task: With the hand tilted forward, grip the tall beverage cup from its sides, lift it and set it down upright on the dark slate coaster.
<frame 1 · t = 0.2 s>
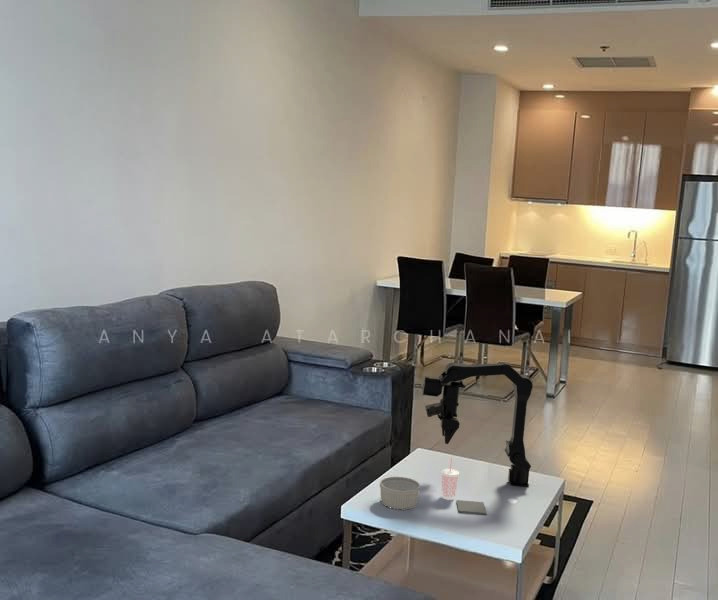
hand: (445, 439, 266), 14 cm above the table, tool pointing down, fingers open, 9 cm apart
ramekin: (398, 504, 242), on the table
beverage cup: (448, 497, 250), on the table
coaster: (471, 508, 242), on the table
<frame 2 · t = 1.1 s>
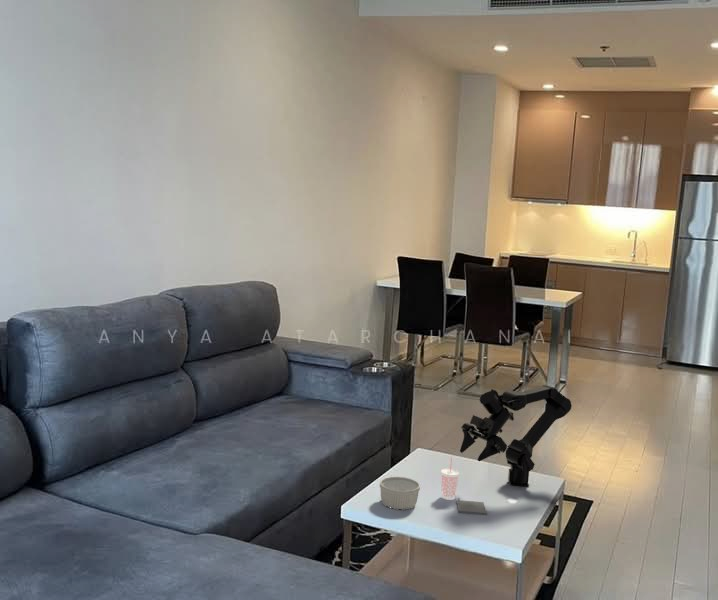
hand: (469, 456, 253), 13 cm above the table, tool tilted 45°, fingers open, 9 cm apart
nothing on the table moved.
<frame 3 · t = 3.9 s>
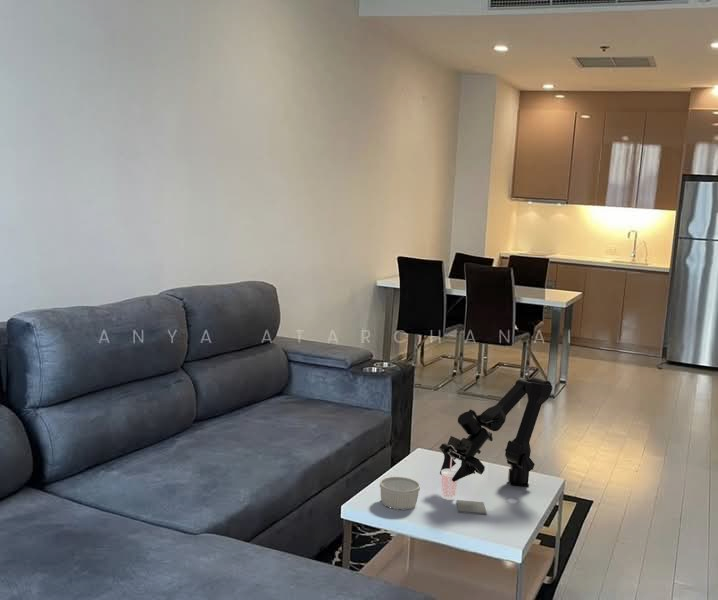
hand: (446, 477, 249), 7 cm above the table, tool tilted 45°, fingers closed on beverage cup, 6 cm apart
beverage cup: (448, 497, 250), on the table, touching gripper
everything else where it was.
when the fingers open (8 cm above the table, at t = 7.4 s): beverage cup stays where it is, resting on coaster.
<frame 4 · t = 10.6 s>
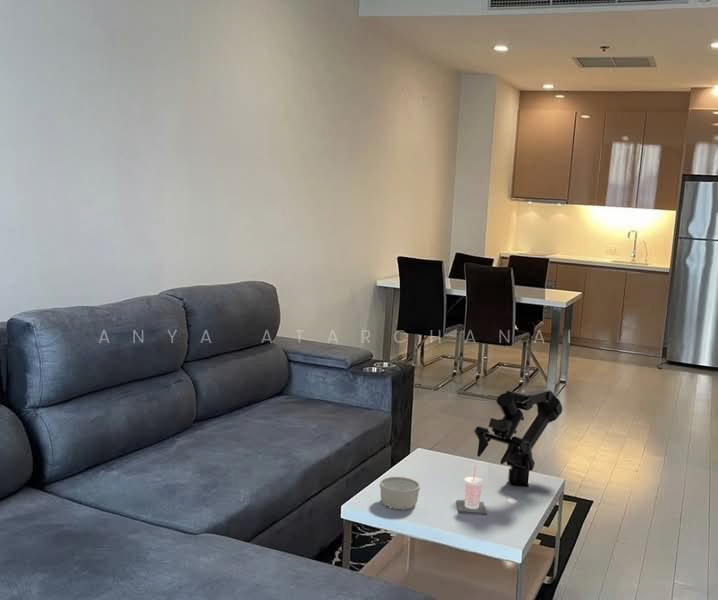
hand: (489, 459, 250), 14 cm above the table, tool tilted 45°, fingers open, 9 cm apart
beverage cup: (471, 506, 242), resting on coaster
everything else where it was.
at the end: beverage cup 0.2 cm from the coaster (horizontally); beverage cup tilted 0°; the gripper is holding nothing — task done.
